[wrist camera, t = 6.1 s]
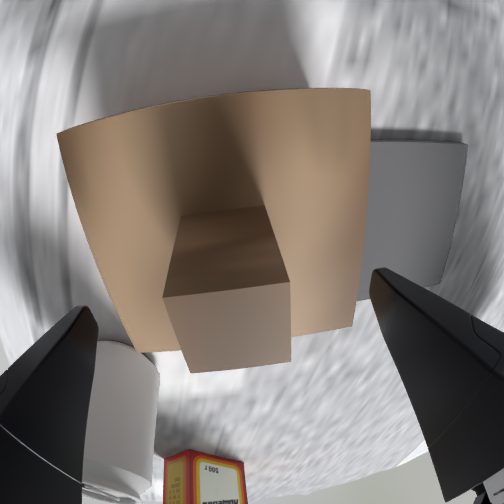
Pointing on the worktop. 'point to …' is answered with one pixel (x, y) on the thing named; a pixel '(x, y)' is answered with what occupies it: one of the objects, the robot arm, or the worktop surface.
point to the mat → (411, 209)
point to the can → (120, 425)
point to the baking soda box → (203, 479)
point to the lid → (227, 219)
